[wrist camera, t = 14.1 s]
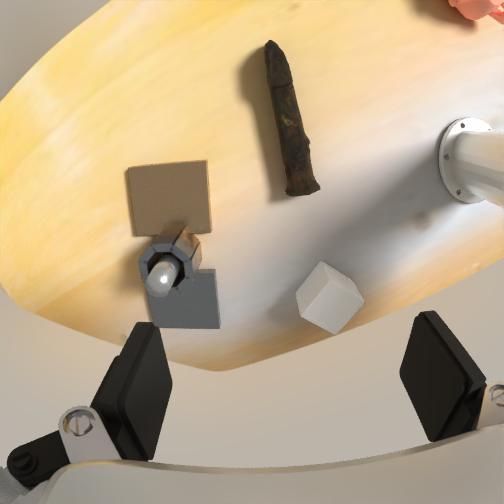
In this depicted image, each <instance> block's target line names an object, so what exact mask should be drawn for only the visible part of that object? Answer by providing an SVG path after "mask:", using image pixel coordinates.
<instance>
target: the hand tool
mask: <svg viewBox="0 0 504 504" xmlns="http://www.w3.org/2000/svg"><path fill="white" fill-rule="evenodd" d="M265 63H266V66H267V79H268V84H269V88H270V92H271V97H272V102H273V108H274V113H275V118H276V123H277V128H278V132H279V137H280V144H281V152H282V156H283V161H284V165H285V170H286V174H287V180H288V187H287V189H286V190H285V192H286V194H287V195H289V196H301V195H310V194H312V193H313V192H316V191H318V190H320V186H319V184H318V183H317V182H316V180H315V177H314V175H313V171H312V165H311V160H310V149H309V144H310V141H309V139H308V137H307V136H306V134H305V132H304V128H303V124H302V119H301V115H300V111H299V107H298V104H297V100H296V95H295V90H294V86H293V83H292V82H293V80H292V76H291V71H290V68H289V64H288V62H287V60H286V57H285V55H284V52H283V51H282V50H281V49H280V48H279V46H278V45H277V44H276V43H275V42H274V41H272V40H269V41H268V42H267V43H266V44H265Z"/></svg>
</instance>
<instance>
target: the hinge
mask: <svg viewBox="0 0 504 504" xmlns="http://www.w3.org/2000/svg"><path fill="white" fill-rule="evenodd" d="M128 172H129V181H130V190H131V198H132V206H133V214H134V221H135V228H136V234H137V236H138V235H158V236H157V237H156V238H155V240H154V241H153V242H152V243H151V244H150V246H149V247H148V248H147V249H146V251H145V252H144V253H143V254H142V256H141V257H140V258H139V261H138V262H139V267H140V273H141V278H142V279H144V281H143V282H144V283H145V281H146V279H147V277H148V276H149V274H150V273H151V271H152V270H153V268H154V267H155V265H156V264H157V262H158V261H159V259H160V258H161V256H162V255H161V252H172V253H173V254H174V255H175V256H177V257H178V258H179V259H180V260H181V261H183V262H184V266H181V268H180V270H179V272H178V274H177V276H176V278H175V280H174V282H173V285H172V287H171V289H170V291H169V293H168V294H167V295H166V296H164V297H154V296H152V295H151V294H150V293H149V292H148V291H147V290H146V291H147V296H148V300H149V305H150V310H151V314H152V319H153V323H154V325H155V326H158V327H159V328H190V329H220V325H221V323H220V313H219V303H218V292H217V282H216V271H215V269H199V270H198V268H199V265H200V262H201V260H202V255H201V245H200V242H198V241H199V239H198V238H197V237H195V236H194V235H193V234H192V233H211V231H212V222H211V208H210V193H209V178H208V161H207V160H197V161H183V162H171V163H160V164H150V165H140V166H131V167H129V168H128Z"/></svg>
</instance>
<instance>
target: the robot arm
mask: <svg viewBox="0 0 504 504" xmlns="http://www.w3.org/2000/svg"><path fill="white" fill-rule="evenodd" d="M439 168H440V173H441V177H442V179H443V182H444V184H445V186H446V188H447V189H448V190H449V192H450V193H451V194H452V195H453V196H454V197H456V198H457V199H459V200H461V201H463V202H466V203H478V202H481V201H483V200H487V201H489V202H491V203H494V204H496V205H498V206H500V207H502V208H504V132H500V131H493V129H492V128H491V127H490V126H489V125H488V124H487V123H486V122H484V121H483V120H480V119H478V118H472V117H464V118H461V119H458V120H457V121H455V122H453V123H452V124H451V125H450V126H449V127H448V129H447V131H446V132H445V134H444V136H443V138H442V141H441V145H440V149H439ZM400 378H401V380H402V382H403V384H404V387H405V389H406V390H407V393H408V395H409V397H410V399H411V402H412V404H413V406H414V408H415V410H416V413H417V415H418V417H419V419H420V422H421V423H422V426H423V428H424V431H425V433H426V435H427V437H428V440H429V441H430V442H433V443H429V444H426V445H422V446H418V447H414V448H410V449H406V450H402V451H397V452H393V453H388V454H383V455H378V456H372V457H367V458H361V459H355V460H348V461H342V462H333V463H326V464H315V465H304V466H290V467H269V468H221V467H202V466H185V465H173V464H163V463H155V462H148V460H152V459H153V457H154V454H155V450H156V446H157V442H158V439H159V435H160V431H161V427H162V423H163V420H164V416H165V412H166V408H167V405H168V401H169V398H170V394H171V391H172V378H171V374H170V371H169V367H168V362H167V358H166V354H165V350H164V346H163V342H162V338H161V333H160V329H159V327H158V326H155V325H154V323H152V322H137V323H136V325H135V326H134V328H133V330H132V332H131V334H130V336H129V338H128V340H127V341H126V343H125V345H124V347H123V349H122V351H121V353H120V355H119V356H116V357H115V358H114V360H113V362H112V363H111V365H110V367H109V369H108V371H107V373H106V375H105V377H104V379H103V381H102V383H101V385H100V387H99V389H98V391H97V393H96V395H95V397H94V399H93V401H92V403H91V405H90V407H87V406H77V407H73V408H71V409H69V410H67V411H66V412H65V413H64V414H63V415H62V416H61V418H60V419H59V424H58V427H59V430H57V431H55V432H53V433H50V434H48V435H46V436H43V437H41V438H38V439H36V440H34V441H31V442H29V443H27V444H24V445H21V446H19V447H17V448H16V449H14V450H13V451H12V452H11V453H10V455H9V456H8V459H7V467H6V468H5V469H3V468H2V467H0V504H504V382H499V381H498V382H492V383H490V384H489V385H488V386H487V385H486V383H485V381H486V377H485V376H484V374H483V373H482V372H481V370H480V369H479V368H478V366H477V365H476V363H475V362H474V361H473V359H472V358H471V356H470V355H469V354H468V352H467V351H466V350H465V348H464V347H463V346H462V344H461V343H460V342H459V340H458V339H457V338H456V337H455V335H454V334H453V333H452V331H451V330H450V329H449V328H448V326H447V325H446V324H445V323H444V321H443V320H442V319H441V318H440V317H439V315H438V314H437V313H436V312H435V311H424V312H420V313H419V315H418V316H416V317H415V319H414V323H413V327H412V330H411V334H410V338H409V341H408V345H407V348H406V352H405V355H404V358H403V361H402V365H401V367H400Z"/></svg>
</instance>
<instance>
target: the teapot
mask: <svg viewBox="0 0 504 504" xmlns="http://www.w3.org/2000/svg"><path fill="white" fill-rule="evenodd" d="M448 2H449V4H450V5H451V6H452V7H456V8H457V9H458V11H459V12H460V13H461V14H462V15H463V16H464V17H465V18H467V19H470V20H477V19H480V18H482V17H484V16H486V15H490V16H491V17H493V18H494V19H495V20H497V21H498V22H499V23H501V24H504V12H502V11H500V10H499V9H497V8H498V7H499V6H500V5H501V6H502V7H503V8H504V0H448Z"/></svg>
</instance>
